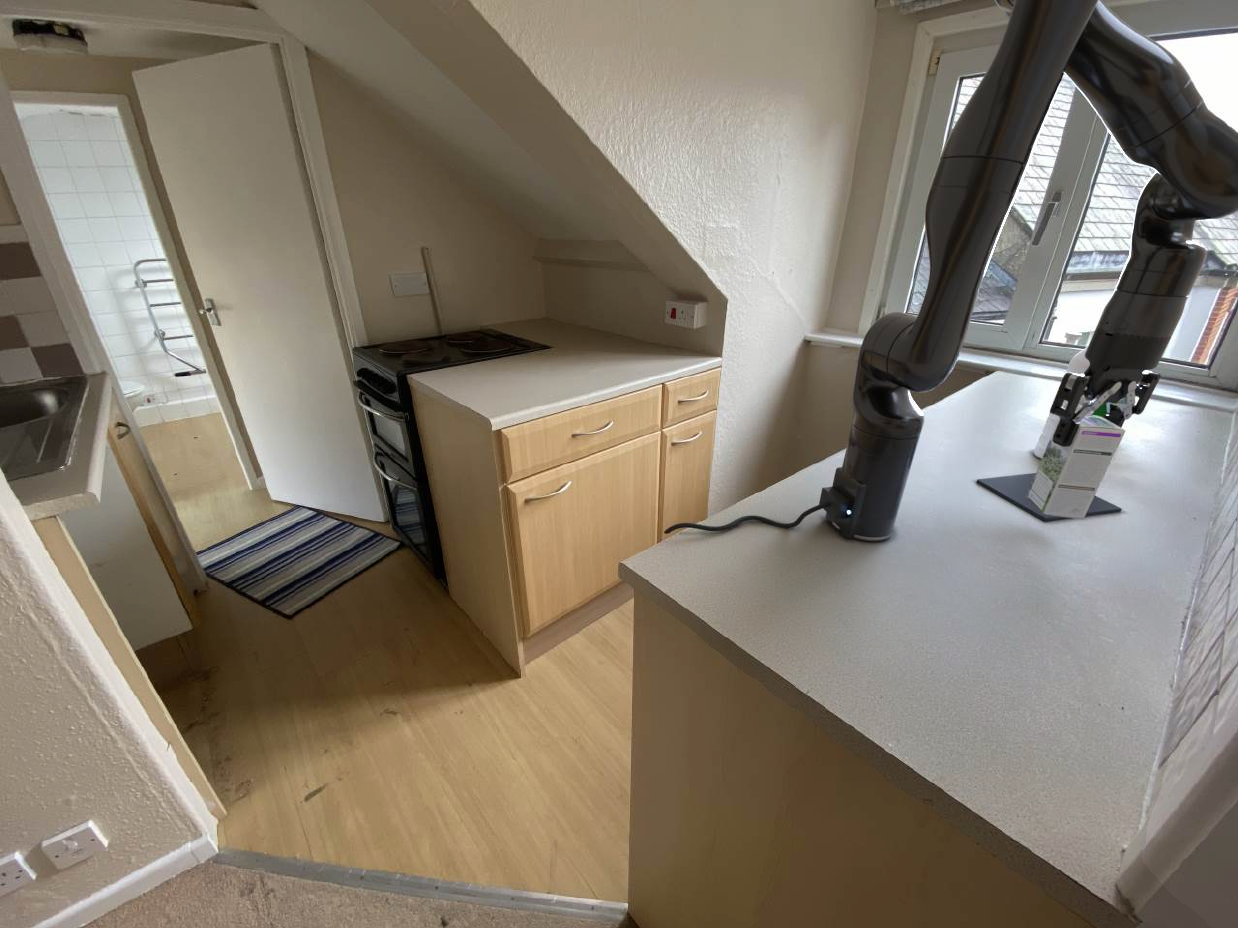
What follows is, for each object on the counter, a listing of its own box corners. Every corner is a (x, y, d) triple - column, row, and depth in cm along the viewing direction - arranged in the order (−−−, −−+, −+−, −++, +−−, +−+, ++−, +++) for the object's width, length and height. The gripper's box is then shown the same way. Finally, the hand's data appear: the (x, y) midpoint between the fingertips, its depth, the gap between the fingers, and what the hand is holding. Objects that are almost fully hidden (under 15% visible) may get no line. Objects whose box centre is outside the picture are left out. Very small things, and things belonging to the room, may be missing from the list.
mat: (1044, 521, 87) (1046, 518, 87) (976, 482, 99) (977, 479, 99) (1120, 511, 90) (1122, 508, 90) (1045, 474, 103) (1046, 471, 102)
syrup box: (1085, 520, 78) (1130, 429, 72) (1040, 514, 79) (1081, 425, 73) (1064, 501, 83) (1105, 415, 77) (1023, 496, 84) (1059, 411, 78)
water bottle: (1073, 457, 110) (1126, 337, 99) (1069, 467, 106) (1124, 342, 94) (1023, 445, 115) (1068, 329, 104) (1017, 454, 111) (1064, 334, 100)
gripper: (1145, 321, 74) (1095, 430, 81) (1063, 323, 71) (1018, 435, 78) (1209, 333, 67) (1148, 450, 75) (1121, 336, 65) (1067, 457, 72)
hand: (1082, 442), depth 77 cm, fingers closed on syrup box, 7 cm apart
